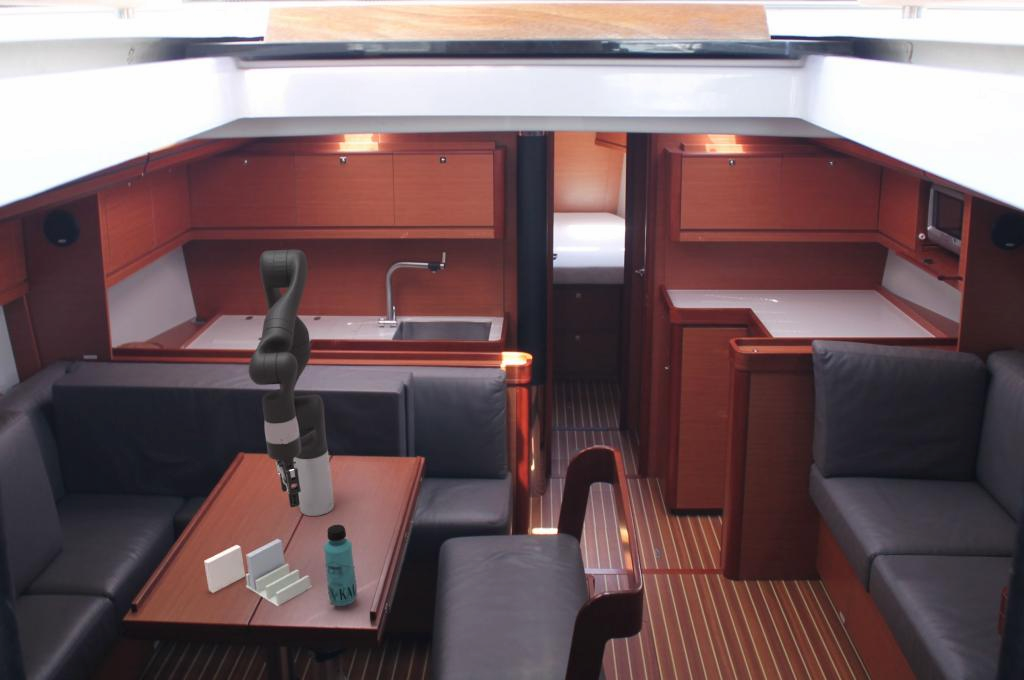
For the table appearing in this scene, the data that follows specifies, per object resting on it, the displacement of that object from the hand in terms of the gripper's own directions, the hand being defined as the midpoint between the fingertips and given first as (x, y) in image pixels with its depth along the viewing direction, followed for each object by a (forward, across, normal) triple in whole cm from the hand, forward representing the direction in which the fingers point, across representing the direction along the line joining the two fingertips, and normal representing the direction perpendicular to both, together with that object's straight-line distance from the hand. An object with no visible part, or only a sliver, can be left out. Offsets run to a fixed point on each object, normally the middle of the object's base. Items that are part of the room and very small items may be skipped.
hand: (290, 498), depth 227 cm
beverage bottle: (+22, +15, +6) cm, 28 cm away
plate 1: (+22, -5, -17) cm, 28 cm away
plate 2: (+21, -2, -8) cm, 23 cm away
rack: (+22, +2, -6) cm, 23 cm away
